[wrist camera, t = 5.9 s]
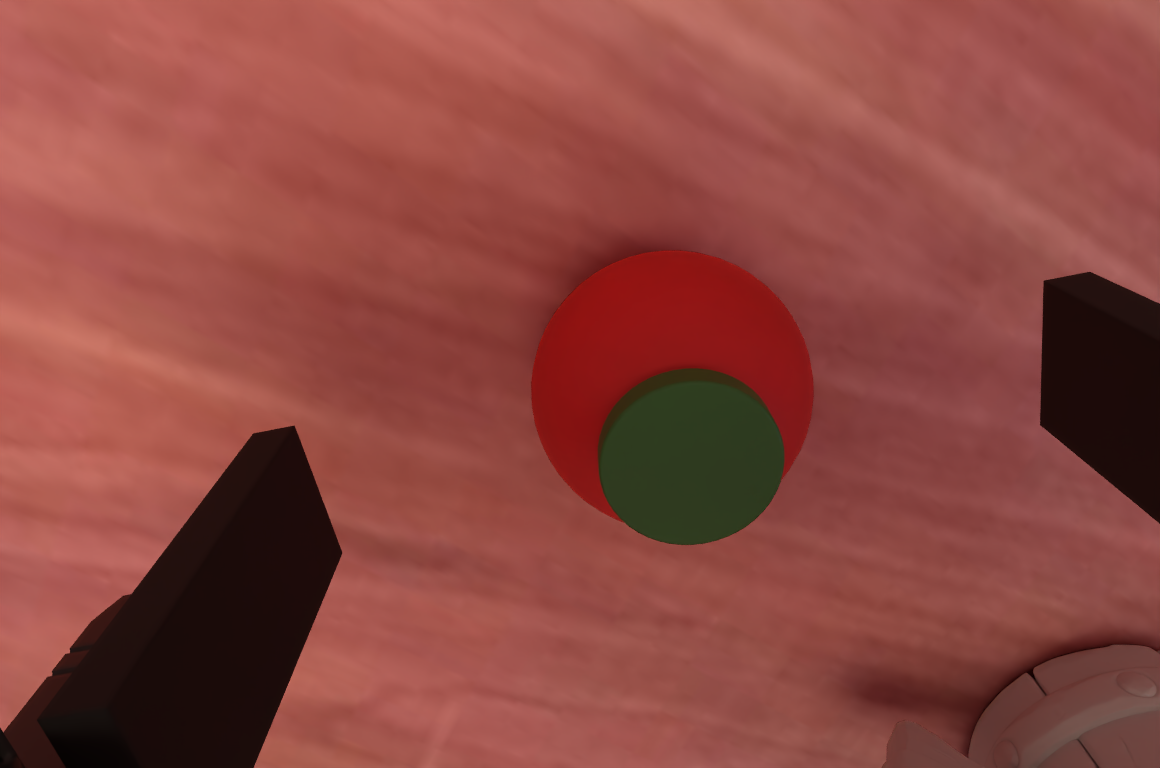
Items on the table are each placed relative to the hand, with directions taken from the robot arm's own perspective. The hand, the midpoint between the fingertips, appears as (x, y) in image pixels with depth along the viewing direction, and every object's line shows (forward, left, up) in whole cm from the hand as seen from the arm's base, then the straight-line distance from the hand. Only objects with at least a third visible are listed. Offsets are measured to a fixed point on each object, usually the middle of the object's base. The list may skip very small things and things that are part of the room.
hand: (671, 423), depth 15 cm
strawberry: (0, 0, -5) cm, 5 cm away
